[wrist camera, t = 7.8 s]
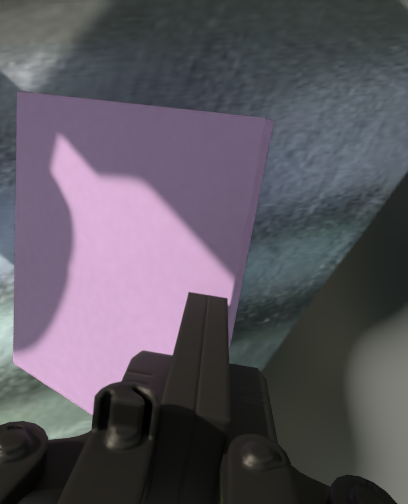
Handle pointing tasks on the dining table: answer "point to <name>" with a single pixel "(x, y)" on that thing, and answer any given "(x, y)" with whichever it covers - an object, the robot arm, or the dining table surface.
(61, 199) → the lid
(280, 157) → the dining table surface
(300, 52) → the dining table surface
